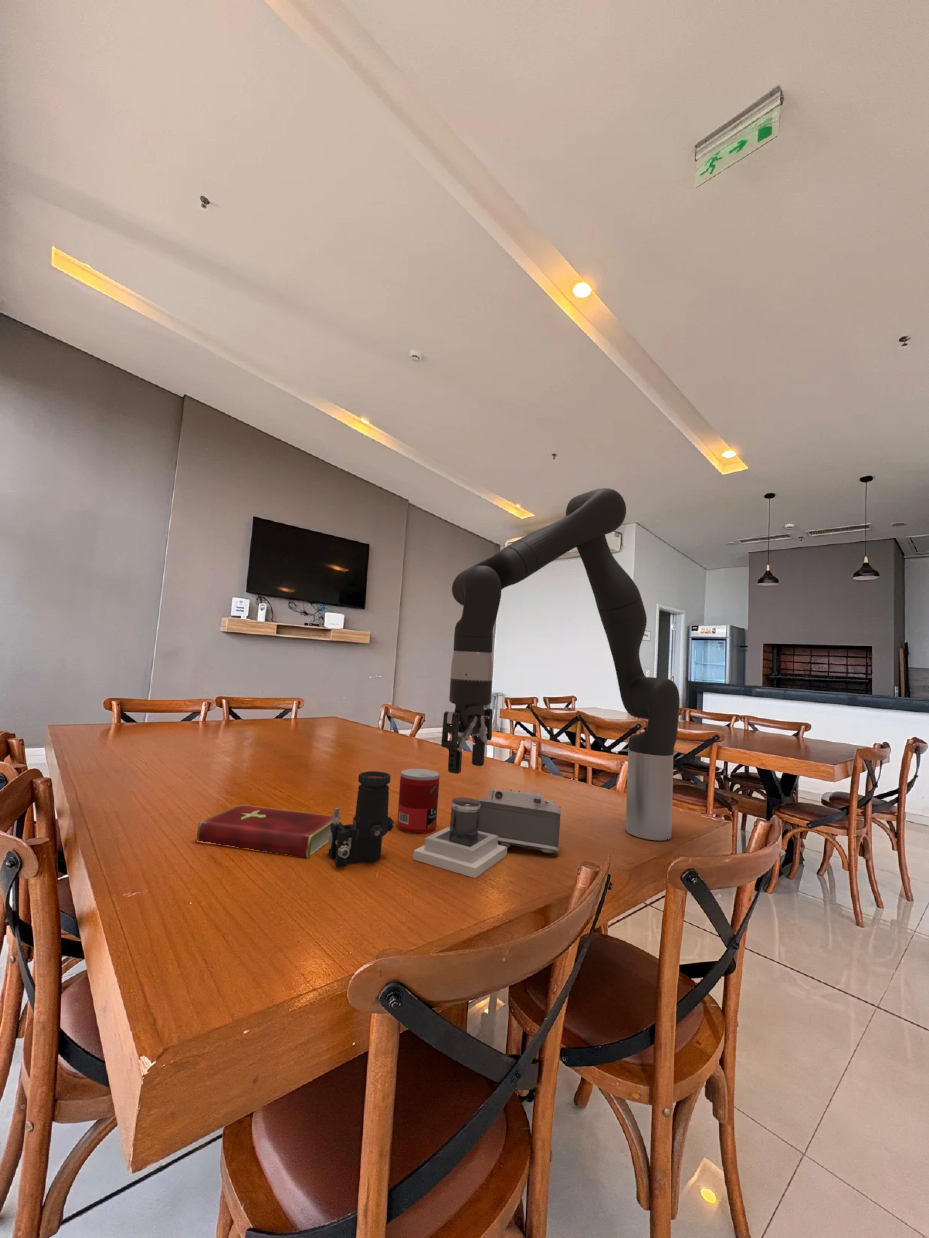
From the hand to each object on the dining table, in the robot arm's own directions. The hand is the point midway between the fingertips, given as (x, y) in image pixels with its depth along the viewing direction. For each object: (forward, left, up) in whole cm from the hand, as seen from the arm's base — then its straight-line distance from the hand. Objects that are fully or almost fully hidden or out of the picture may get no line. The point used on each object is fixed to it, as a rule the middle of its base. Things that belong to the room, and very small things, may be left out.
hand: (466, 769), depth 90 cm
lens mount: (0, 0, -15) cm, 15 cm away
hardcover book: (+14, -32, -16) cm, 38 cm away
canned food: (-8, -15, -15) cm, 23 cm away
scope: (+11, -13, -15) cm, 23 cm away
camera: (-12, +5, -15) cm, 20 cm away
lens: (0, 0, -14) cm, 14 cm away
